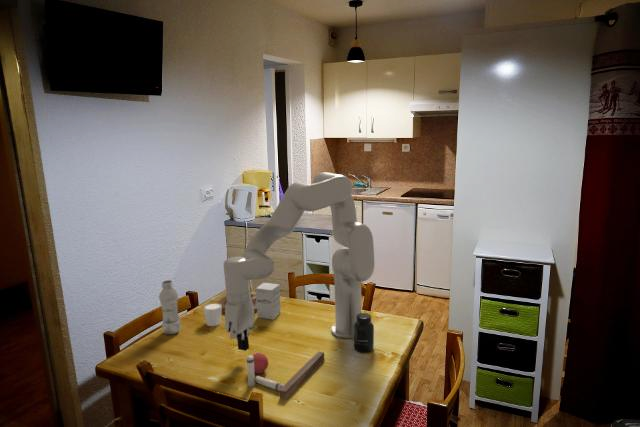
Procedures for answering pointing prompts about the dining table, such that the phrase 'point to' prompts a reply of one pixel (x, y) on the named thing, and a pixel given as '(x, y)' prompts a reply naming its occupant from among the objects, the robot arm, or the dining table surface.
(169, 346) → the dining table surface
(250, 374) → the side pin
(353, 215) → the robot arm
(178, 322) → the plastic bottle
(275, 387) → the pin
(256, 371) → the ball
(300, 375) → the back wall
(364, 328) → the supplement bottle
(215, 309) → the white cup
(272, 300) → the supplement box
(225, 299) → the plant
